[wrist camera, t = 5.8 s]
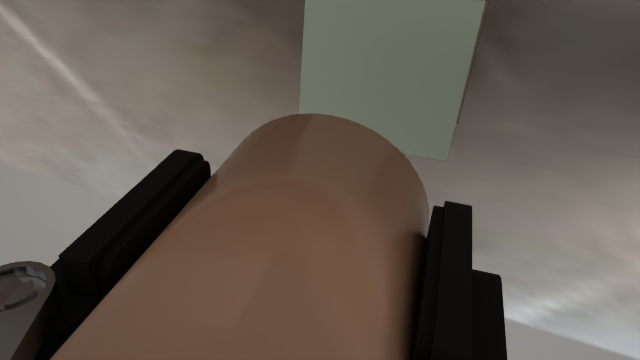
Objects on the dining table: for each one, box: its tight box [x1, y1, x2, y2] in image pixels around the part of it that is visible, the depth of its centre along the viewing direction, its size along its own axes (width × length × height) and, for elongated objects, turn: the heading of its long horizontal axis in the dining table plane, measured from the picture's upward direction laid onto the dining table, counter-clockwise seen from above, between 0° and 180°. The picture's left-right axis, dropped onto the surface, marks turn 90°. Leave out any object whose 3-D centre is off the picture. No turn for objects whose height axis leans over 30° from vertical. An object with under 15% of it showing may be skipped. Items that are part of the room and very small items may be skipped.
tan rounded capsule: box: [50, 113, 429, 360], centre depth 9 cm, size 5×5×7 cm
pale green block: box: [299, 0, 485, 162], centre depth 20 cm, size 6×6×5 cm
